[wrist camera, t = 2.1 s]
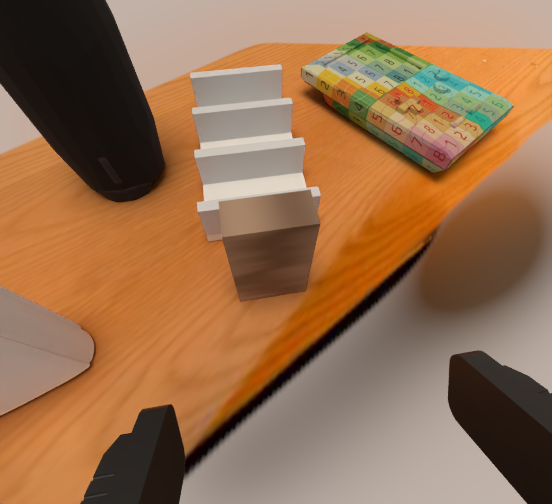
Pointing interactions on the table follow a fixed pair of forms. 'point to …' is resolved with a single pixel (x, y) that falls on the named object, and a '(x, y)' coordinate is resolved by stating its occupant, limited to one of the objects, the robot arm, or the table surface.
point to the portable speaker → (81, 92)
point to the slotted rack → (244, 139)
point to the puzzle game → (406, 100)
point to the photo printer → (37, 350)
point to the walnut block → (270, 242)
